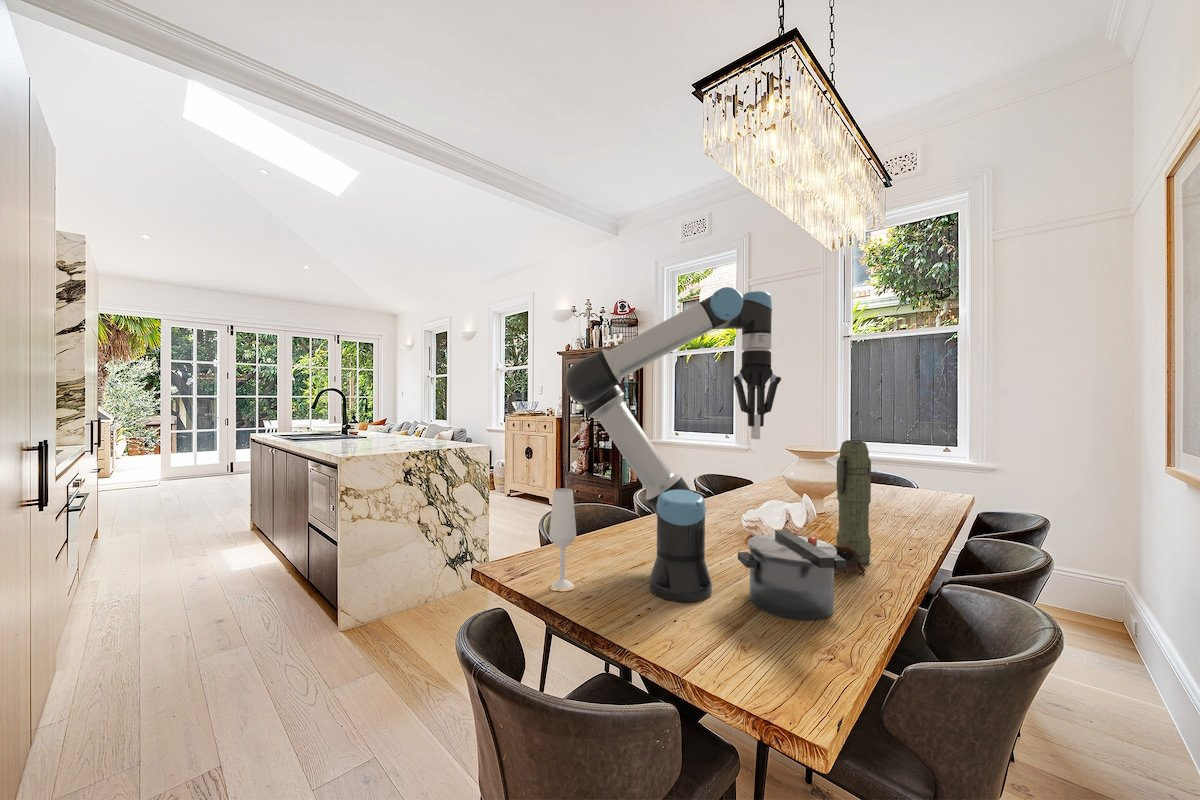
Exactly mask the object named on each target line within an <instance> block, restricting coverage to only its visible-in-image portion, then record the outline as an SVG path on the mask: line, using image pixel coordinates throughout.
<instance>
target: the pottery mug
mask: <svg viewBox="0 0 1200 800" xmlns="http://www.w3.org/2000/svg"><path fill="white" fill-rule="evenodd" d="M832 545H833V546H834V547H835V548H836V549H837V555H838V556H840V557H842V558H843V559H845V560H846V568H836V567H835V568H834V573H847V572H851V571H854V570H856V571H860V572H861V574H863V575H865V574H866V573H865V572H866V568H865V567H864V564H863V565H862V564H861V563H863V560H862V559H861V556H860V555H859V554H858V553H856V551H855V550H854V549H852V548H851V547H848V546H837V544H832ZM843 552H846V553H845V554H844V553H843Z"/></svg>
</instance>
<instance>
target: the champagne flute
mask: <svg viewBox="0 0 1200 800" xmlns="http://www.w3.org/2000/svg"><path fill="white" fill-rule="evenodd" d="M573 490H574V489H573V488H572V489H571V488H563V487H562V488H561V487H560V488H555V489H553V494H552V501H551V503H552V505H551V513H550V525H549V531H548V532H549V534H548V535H549V536H548V537H549V538H550V540H551V542H552V543H554V544H555V545H556V547H558V548H559V550H560V552H559V553H560V554H559V556H560V558H559V562H560V563H559V565H560V566H559V568H560V569H559V577H560V578H559V579H558V580H556V581H554V582H553V583H551V584H552V587H553V588H556V589H557V588H558V589H569V588H571V587H573V584H574V583H573V582H571V581H569V580H567V579H566V576H565V575H566V572H565V571H566V548H567V547H569V546H570V545H571V544H572V543H573V542H574V541H575V539H576V537H577V526H576V524H577V523H576V514H575V513H576V512H575V503H574V502H575V501H574V491H573ZM572 583H573V584H572Z"/></svg>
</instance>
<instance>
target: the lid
mask: <svg viewBox="0 0 1200 800" xmlns="http://www.w3.org/2000/svg"><path fill="white" fill-rule="evenodd" d="M833 545H834V544H831V543H829V542H826V541H823V540H820V539H818V538H817V537H815V536H807V537H806V536H802V535H796V534H795V533H793V532H791V531H790V530H788V529H775V530H774V534H773V533H770V534H769V533H768V534H767V533H766V534H760V535H759V534H758V535H754V536H751V537H749V538H748V540H747V548H748V549H749V551H750V550H751V551H752V552H754V553H756V554H759V555H761V556H764V557H768V558H772V559H777V560H782V561H789V562H799V563H813V564H814V565H816V566H817V567H819V568H835V563H834V559H835V558H836V557H837V549H836V548H835V547H834V546H833Z"/></svg>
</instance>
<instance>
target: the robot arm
mask: <svg viewBox="0 0 1200 800" xmlns="http://www.w3.org/2000/svg"><path fill="white" fill-rule="evenodd" d="M772 304H773V303H772V296H771V294H770V293H769V292H767V291H759V290H757V291H748V292H746V293H743V295H742V294H741V293H740V292H739V291H738V290H737V289H736V288H734V287H730V286H724V287H721V288H719V289H718V290H716V291H714V293H712V295H710V296H709V297H707V298H705V299H703V300H702V301H700V302H699V301H698V302H697V303H696V304H694V305H691V306H690V307H688V308H686V309H684V310H683V311H681V312H679V313H676V315H675V314H674V315H673V316H672V317H669V318H668V319H666V320H663V321H662V322H660V323H659V324H657V325H654V326H652V327H651V328H648V329H647V330H645V331H644V332H642V333H640V334H637V335H636V336H634V337H632V338H630V339H627V341H624V342H623V343H621V344H619V345H617V346H615V347H614V348H612V349H610V350H607V349H601V350H599V351H597V352H595V353H593V354H592V355H589V356H587V357H584V358H583V359H580V360H578V361H576V362H574V363H573V364H572V365H571V366H570V367H569V368H568V370H567V371H566V374H565V377H564V387H565V390H566V392H567V393H568V395H569V397H571V398H572V400H573V401H576V402H577V403H580V405H581V406H582V407H583V409H584V410H585V413H586V414H587V415H588V416H589V418H593V419H596V420H598V421H599V423H600V424H601V426H602V427H603V429H604V430H605V432H606V433H607V435H608V436H609V438H610V439H611V441H612V442H613V444H614V445H615V446H616V448H617V449H618V451H619V452H620V454H621V456H622V457H623V458H624V460H625V461H626V463H627V464H628V466H629V467H630V468H631V470H632V471H633V473H634V474H635V476H636V477H637V478H638V481H639V482H640V483H641V484H642V486H643V487H644V489H645V491H646V494H645V500H646V502H647V503H648V505H649V506H650V507H651V509H652V510H653V512H654V514H655V515H656V557H655V560H654V564H653V567H652V570H651V573H650V576H649V581H648V583H649V585H648V586H649V587H648V588H649V591H650V590H651V591H652V592H653V593H654V594H653V593H652V592H651V591H650V592H651V593H652V594H653V595H655V594H656V595H655V596H657V595H658V596H657V597H659V596H660V597H659V598H661V597H662V598H661V599H664V598H665V600H668V599H669V600H668V601H672V600H675V601H674V602H681V601H684V602H683V603H687V602H689V603H690V601H691V603H692V602H698V601H702V600H705V599H707V598H709V597H710V596H711V595H712V593H713V590H712V589H713V588H712V586H713V584H712V583H713V582H712V579H711V576H710V573H709V570H708V566H707V563H706V559H705V556H706V555H705V553H706V552H705V550H706V548H705V547H706V540H705V539H706V513H707V507H706V502H705V498H704V496H702V494H700V493H697V492H695V491H693V490H692V489H691V488H690V487H689V485H688V484H687V482H686V481H685V479H684V478H683V477H682V476H681V475H680V474H678V473H673V472H672V471H671V469H670V467H669V466H668V465H667V463H666V462H665V461H664V459H663V458H662V456H661V454H660V452H659V451H658V450H657V448H656V447H655V445H654V444H653V443H652V442H651V440H650V439H649V437H648V436H647V435H646V432H644V429H642V427H641V425H640V424H639V422H638V421H637V420H636V418H635V417H634V415H633V414H632V412H631V410H630V409H629V408H628V407H627V405H626V404H625V402H624V397H625V392H624V391H623V390H622V388H621V387H620V386H619V384H621V383H622V380H623V378H625V377H626V376H628V375H630V374H632V373H634V372H636V371H638V370H640V369H642V368H644V367H645V366H647V365H650V364H651V363H652V362H655V361H656V360H658V359H661V358H662V357H665V356H666V355H668V354H670V353H671V352H674V351H675V350H677V349H679V348H681V347H684V346H685V345H687V344H689V343H690V342H692V341H694V340H697V339H699V338H700V337H702V336H704V335H705V334H707V333H709V332H711V331H713V330H733V329H736V330H739V329H741V350H743V352H742V353H741V367H740V368H741V369H740V370H739V373H738V374H737V375H735V376H732V377H731V381H732V383H733V384H734V387H735V390H736V394H737V398H738V403H739V407H740V411H741V412H742V413H746V414H747V425H748V427H751V428H750V434H751V435H750V438H751V440H761V427H764V425H765V423H764V422H765V421H764V420H765V415H766V414H767V413H771V412H772V409H773V404H774V402H775V396H776V392H777V389H778V385H779V384H780V383H781V381H782V378H781V376H777V375H776V374H774V373H773V369H772V352H771V351H770V350H771V349H772V313H773V307H772V306H773V305H772ZM743 381H744V382H745V383H746V388H747V397H746V394H745V389H744V385H743V383H742V382H743ZM768 381H769V386H768V389H767V393H766V390H765V389H766V384H767V383H768ZM765 393H766V394H765ZM765 395H766V397H765ZM756 413H757V414H756ZM685 601H686V602H685Z"/></svg>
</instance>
